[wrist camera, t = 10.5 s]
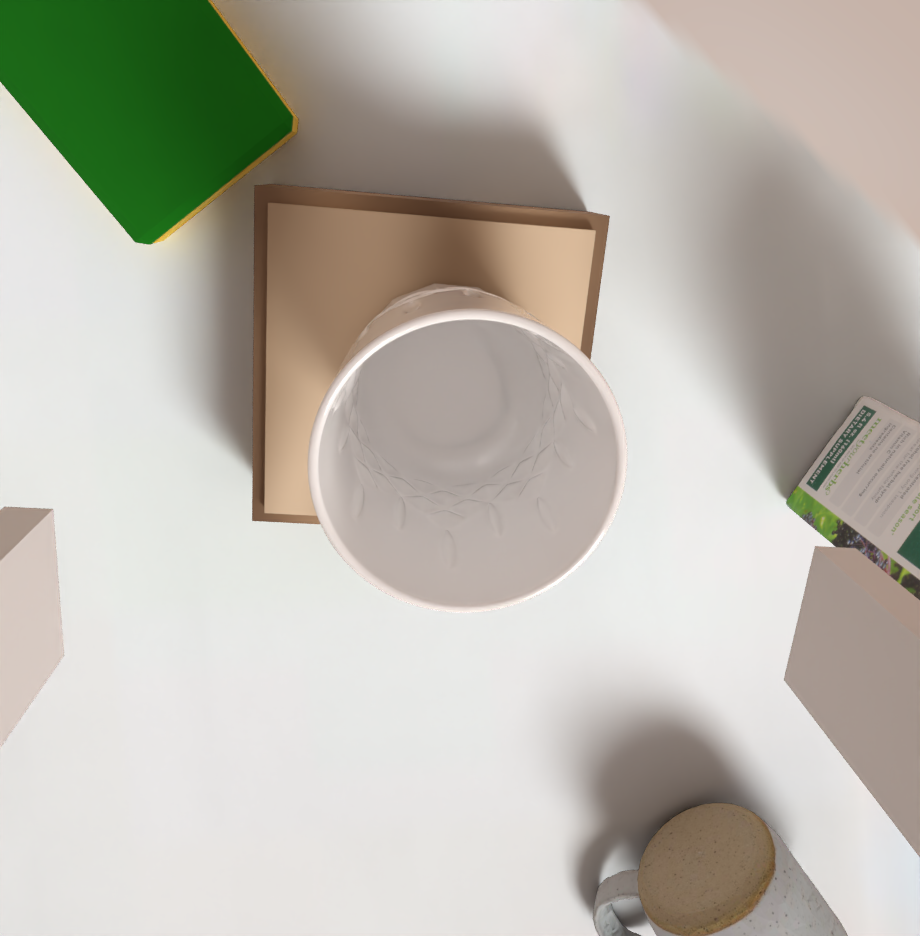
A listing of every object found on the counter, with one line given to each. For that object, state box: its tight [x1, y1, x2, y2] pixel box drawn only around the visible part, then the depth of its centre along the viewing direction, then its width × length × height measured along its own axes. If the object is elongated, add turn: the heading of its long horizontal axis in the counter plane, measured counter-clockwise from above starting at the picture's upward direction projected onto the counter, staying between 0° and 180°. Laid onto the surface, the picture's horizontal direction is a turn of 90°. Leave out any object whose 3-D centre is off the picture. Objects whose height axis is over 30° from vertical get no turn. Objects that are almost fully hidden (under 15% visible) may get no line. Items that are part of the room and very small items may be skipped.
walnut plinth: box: [252, 184, 610, 524], centre depth 32 cm, size 12×12×4 cm
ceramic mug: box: [593, 803, 848, 936], centre depth 40 cm, size 11×8×8 cm
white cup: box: [308, 283, 627, 612], centre depth 26 cm, size 8×8×10 cm
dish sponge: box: [0, 0, 298, 244], centre depth 29 cm, size 7×14×2 cm, turn 36°
